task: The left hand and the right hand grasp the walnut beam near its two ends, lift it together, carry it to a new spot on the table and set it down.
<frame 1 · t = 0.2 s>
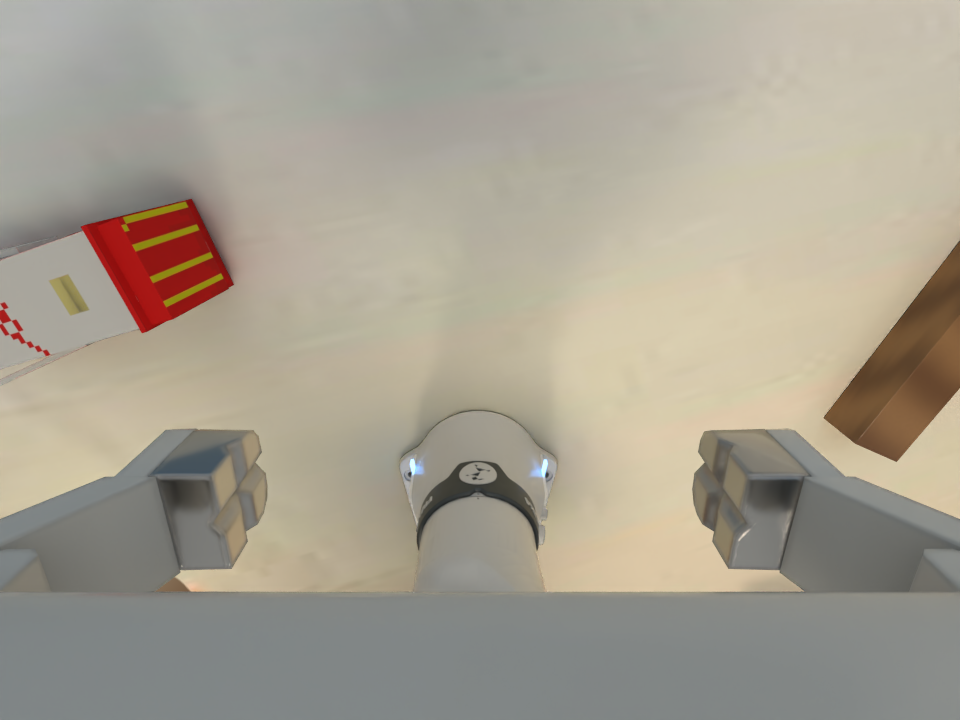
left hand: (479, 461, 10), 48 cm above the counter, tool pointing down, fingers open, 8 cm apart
toy: (98, 282, 58), on the counter
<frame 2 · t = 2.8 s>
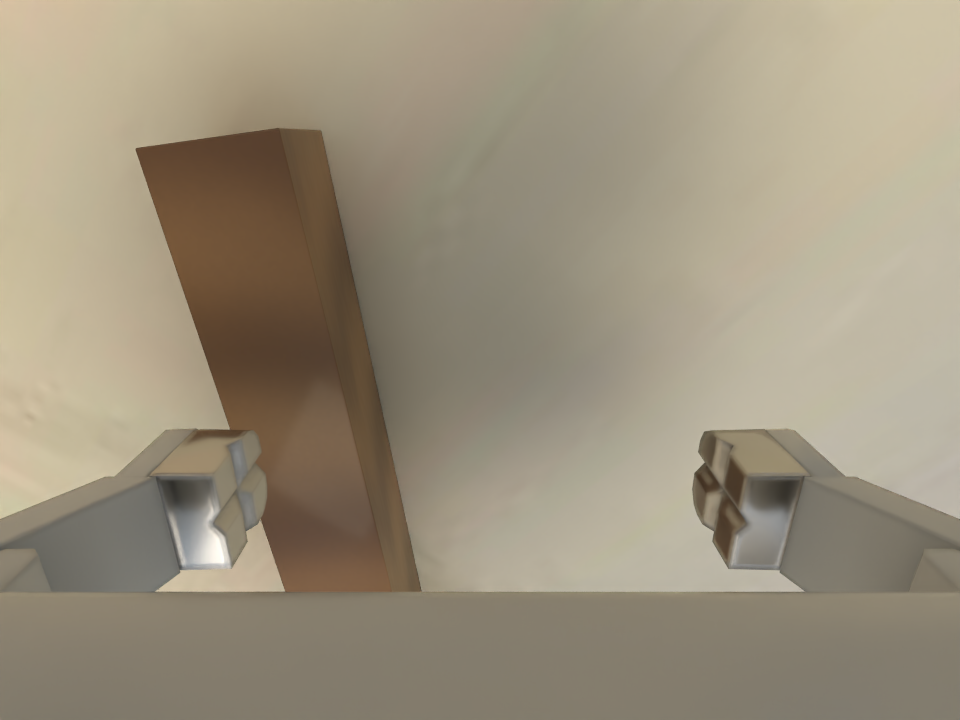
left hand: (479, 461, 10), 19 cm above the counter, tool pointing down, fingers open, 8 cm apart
beam: (376, 582, 36), on the counter
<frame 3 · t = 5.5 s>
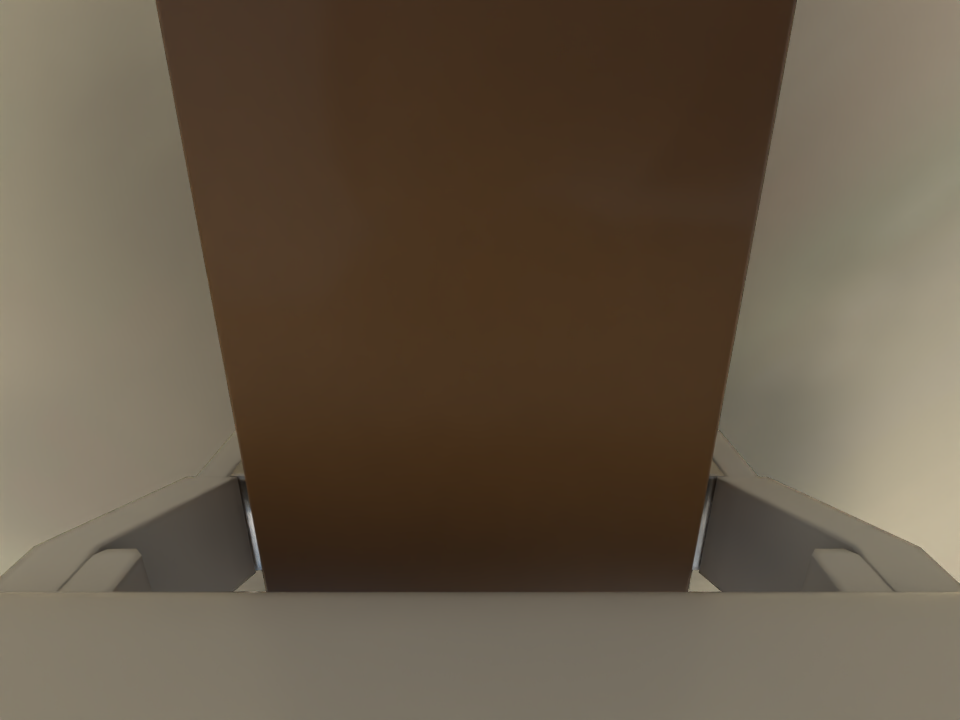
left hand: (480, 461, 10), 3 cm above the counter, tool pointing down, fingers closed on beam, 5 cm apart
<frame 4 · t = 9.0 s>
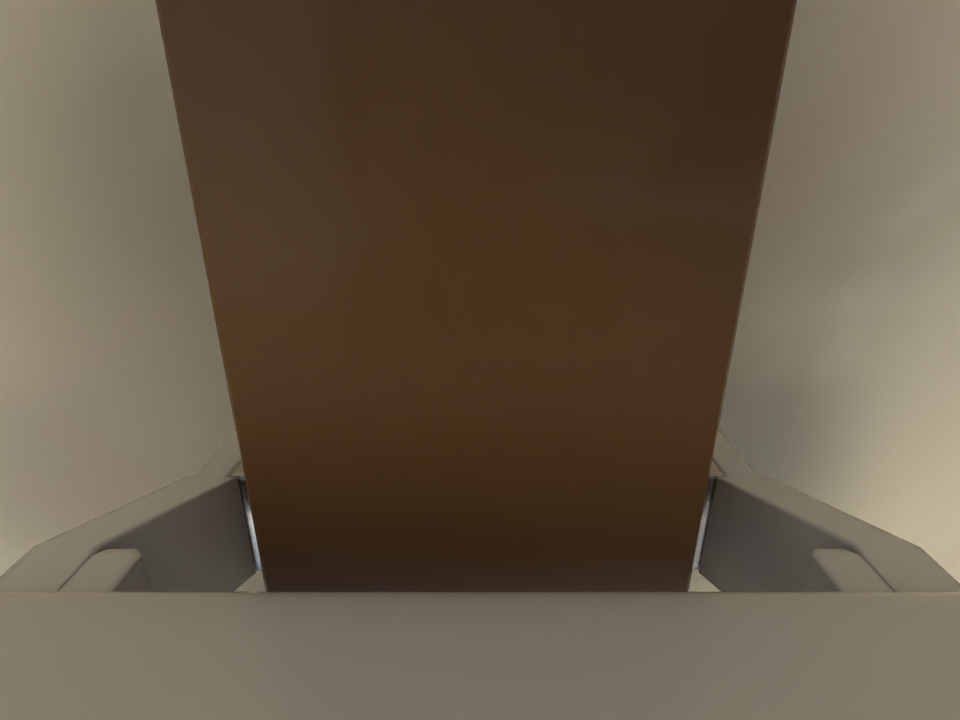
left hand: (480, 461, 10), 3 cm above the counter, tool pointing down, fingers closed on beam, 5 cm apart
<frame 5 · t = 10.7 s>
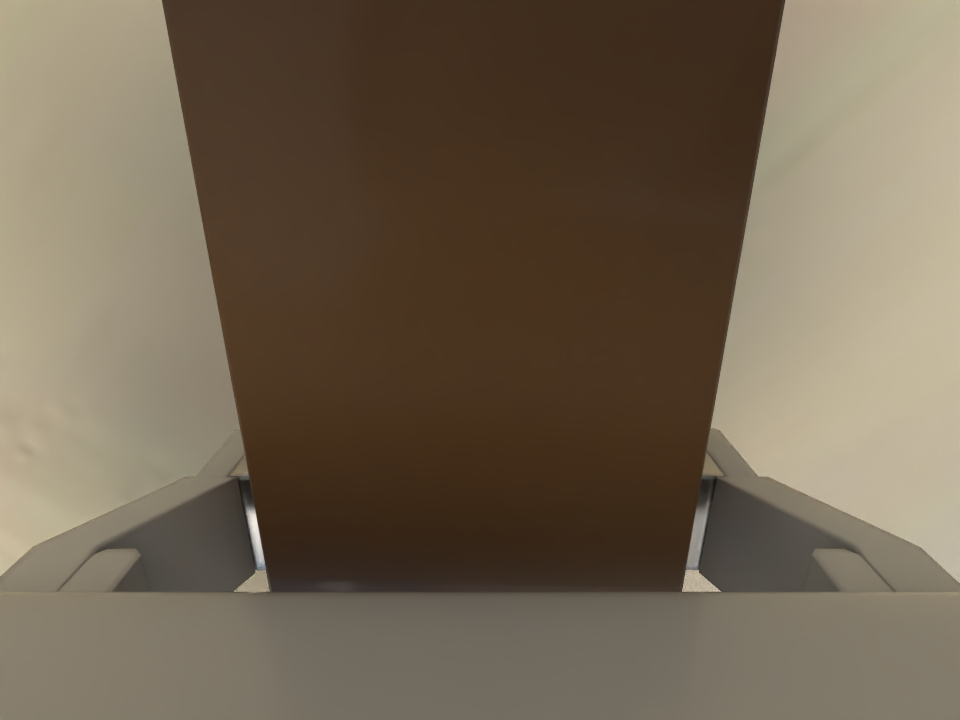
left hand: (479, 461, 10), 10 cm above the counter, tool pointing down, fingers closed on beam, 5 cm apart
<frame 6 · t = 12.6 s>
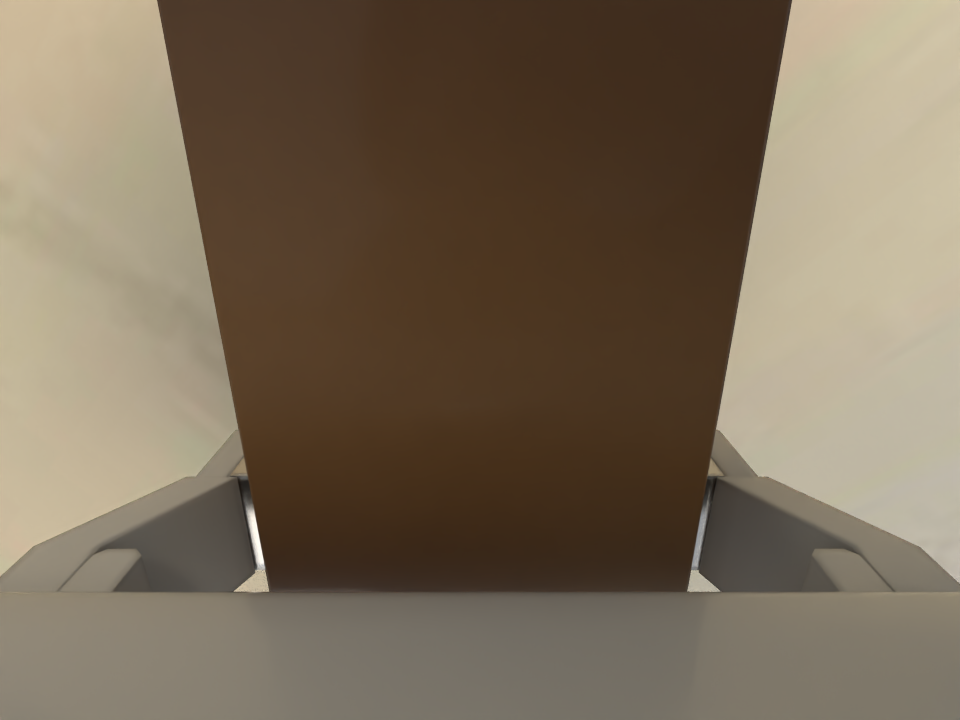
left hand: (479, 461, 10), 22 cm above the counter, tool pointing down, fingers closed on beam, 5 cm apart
when the right hand's fingers open (3 cm above the counter, at t = 16.0 s): beam drops 2 cm, on the counter.
when the left hand's fingers open (4 cm above the counter, at t = 16.1 s): beam drops 1 cm, on the counter.
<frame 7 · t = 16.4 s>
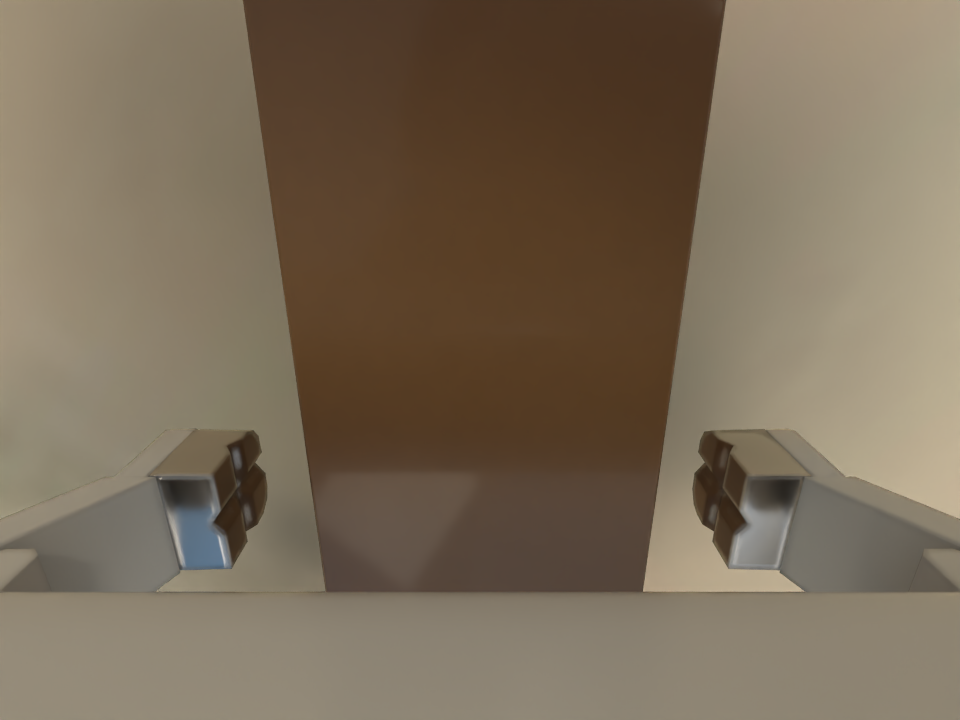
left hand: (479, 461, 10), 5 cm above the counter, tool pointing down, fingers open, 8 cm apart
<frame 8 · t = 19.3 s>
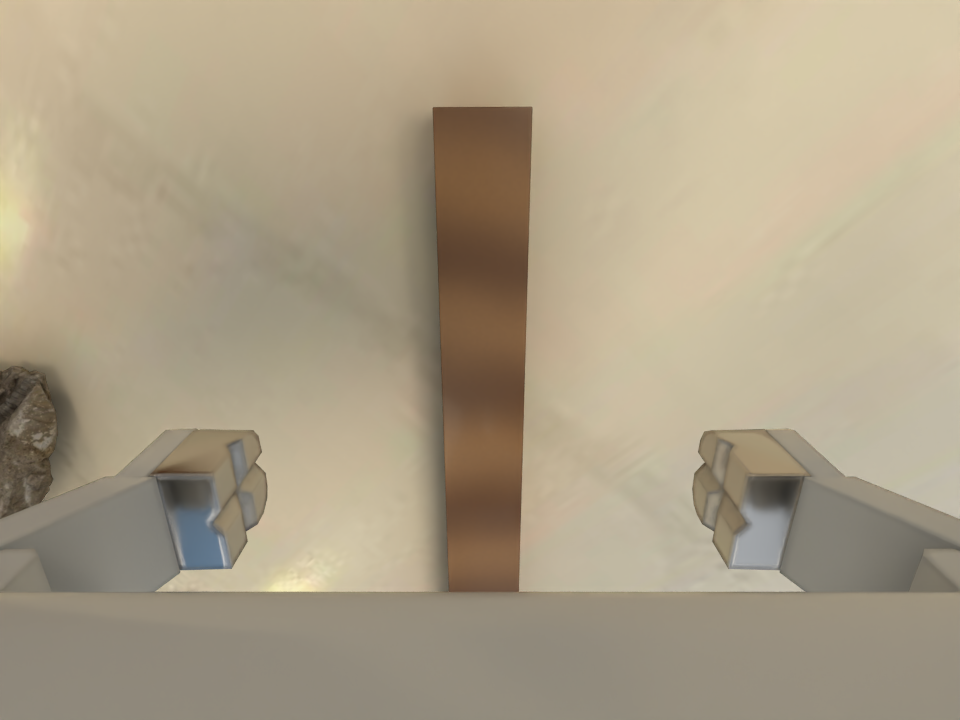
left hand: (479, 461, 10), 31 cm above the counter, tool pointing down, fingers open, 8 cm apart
beam: (483, 466, 46), on the counter
fossil: (11, 451, 46), on the counter
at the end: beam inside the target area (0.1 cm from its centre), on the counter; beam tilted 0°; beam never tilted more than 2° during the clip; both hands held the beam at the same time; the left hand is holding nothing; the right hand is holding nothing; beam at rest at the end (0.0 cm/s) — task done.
